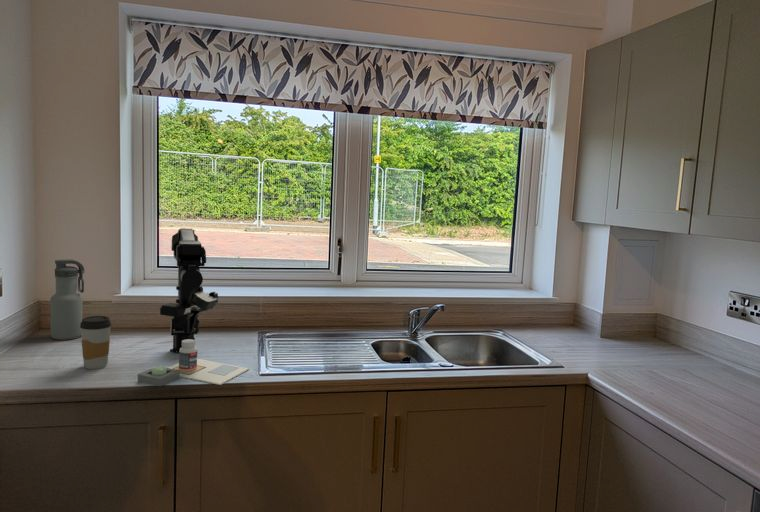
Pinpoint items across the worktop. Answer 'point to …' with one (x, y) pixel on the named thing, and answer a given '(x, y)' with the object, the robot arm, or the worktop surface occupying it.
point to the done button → (159, 371)
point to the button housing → (158, 377)
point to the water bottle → (67, 301)
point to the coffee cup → (95, 341)
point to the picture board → (211, 372)
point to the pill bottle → (188, 355)
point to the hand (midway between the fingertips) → (188, 332)
